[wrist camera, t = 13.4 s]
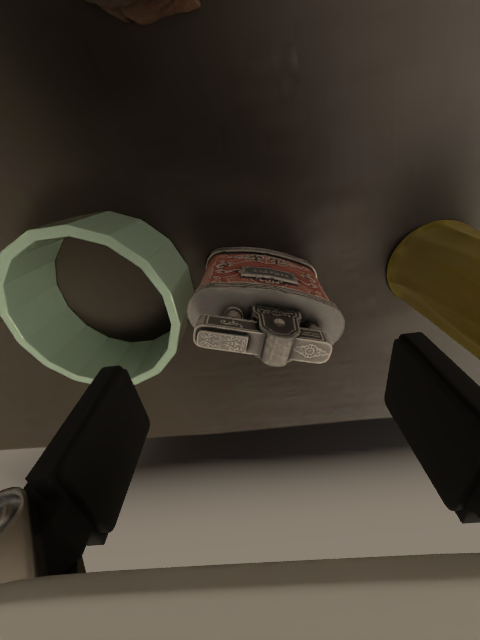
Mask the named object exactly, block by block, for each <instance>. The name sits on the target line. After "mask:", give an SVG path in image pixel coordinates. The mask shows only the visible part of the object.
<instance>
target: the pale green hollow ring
mask: <svg viewBox="0 0 480 640" xmlns="http://www.w3.org/2000/svg"><path fill="white" fill-rule="evenodd" d="M67 236H71V237H75V238H79V239H83V240H87V241H90V242H94V243H98V244H102V245H106V246H108V247H110V248H111V249H113V250H114V251H116V252H117V253H119V254H120V255H122V256H123V257H125V258H126V259H128V260H129V261H131V262H132V263H134V264H135V265H137V266H139V267H140V268H141V269H142V270H143V272H144V273H145V274H146V275H147V277H148V278H149V279H150V281H151V282H152V283H153V284H154V286H155V287H156V288H157V289H158V291H159V292H160V293H161V295H162V296H163V299H164V302H165V306H166V309H167V312H168V315H169V319H170V322H171V329H170V331H169V332H168V333H166V334H164V335H162V336H160V337H158V338H156V339H154V340H149V341H140V342H127V341H123V340H118V339H114V338H110V337H107V336H105V335H103V334H102V333H100V332H98V331H96V330H94V329H93V328H91V327H89V326H87V325H86V324H85V323H84V322H83V321H82V320H81V319H80V318H79V317H78V316H77V315H76V314H75V313H74V312H73V311H72V310H71V309H70V308H69V307H68V305H67V303H66V301H65V299H64V297H63V295H62V293H61V291H60V289H59V287H58V285H57V280H56V268H55V259H56V256H57V254H58V252H59V249H60V247H61V244H62V242H63V240H64V238H65V237H67ZM193 293H194V289H193V285H192V280H191V276H190V272H189V268H188V265H187V264H186V262H185V261H184V260H183V258H182V257H181V255H180V254H179V252H178V251H177V250H176V248H175V247H174V245H173V244H172V242H171V241H170V240H169V239H168V238H167V237H165V236H164V235H162V234H161V233H160V232H158V231H157V230H155V229H154V228H153V227H151V226H150V225H148V224H147V223H146V222H144V221H143V220H141V219H137V218H133V217H130V216H126V215H122V214H118V213H115V212H111V211H104V212H98V213H91V214H85V215H78V216H75V217H71V218H68V219H65V220H61V221H58V222H54V223H51V224H47V225H44V226H41V227H37V228H34V229H30V230H28V231H26V232H25V233H23V234H22V235H21V236H20V237H18V238H17V239H16V240H15V241H13V242H12V243H11V244H10V245H8V246H7V247H6V248H5V249H3V250H2V251H1V253H0V316H1V318H2V319H3V321H4V322H5V324H6V325H7V327H8V328H9V330H10V331H11V333H12V334H13V336H14V337H15V339H16V341H17V342H18V343H19V344H20V345H21V346H22V347H23V348H25V349H26V350H27V351H28V352H29V353H30V354H32V355H33V356H34V357H35V358H36V359H37V360H39V361H40V362H41V363H42V364H43V365H45V366H46V367H48V368H50V369H52V370H54V371H56V372H59V373H61V374H63V375H65V376H67V377H69V378H71V379H73V380H76V381H79V382H84V383H89V384H91V382H92V381H93V380H94V378H95V377H96V375H97V374H98V372H99V371H100V370H101V368H103V367H108V366H117V365H119V366H121V367H122V368H123V369H126V370H127V371H128V373H129V375H130V378H131V380H132V382H133V384H134V385H135V384H138V383H140V382H142V381H144V380H146V379H148V378H151V377H153V376H155V375H157V374H159V373H160V372H161V371H162V370H163V369H164V367H165V366H166V365H167V364H168V362H169V361H170V360H171V358H172V357H173V356H174V355H175V353H176V351H177V349H178V346H179V344H180V341H181V339H182V336H183V334H184V331H185V328H186V326H187V323H188V321H189V319H188V315H187V307H188V303H189V300H190V298H191V296H192V294H193Z"/></svg>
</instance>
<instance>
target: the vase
mask: <svg viewBox="0 0 480 640" xmlns="http://www.w3.org/2000/svg"><path fill="white" fill-rule="evenodd" d="M387 281H388V285H389V287H390V289H391V291H392V292H393V293H394V295H395V296H397V297H398V298H400V299H402V300H404V301H405V302H406V303H408V304H409V305H410V306H411V307H413V308H414V309H415V310H417V311H418V312H419V313H421V314H422V315H423V316H425V317H426V318H427V319H429V320H430V321H431V322H433V323H434V324H435V325H436V326H438V327H439V328H440V329H441V330H442V331H444V332H445V333H446V334H447V335H449V336H450V337H451V338H453V339H454V340H455V341H456V342H458V343H459V344H460V345H461V346H463V347H464V348H465V349H467V350H468V351H469V352H471V353H472V354H473V355H474V356H476V357H477V358H478V359H479V360H480V231H479V230H475V229H473V228H472V227H470V226H469V225H467V224H465V223H463V222H459V221H455V220H438V221H434V222H431V223H428V224H426V225H423V226H421V227H419V228H418V229H416V230H414V231H413V232H411V233H410V234H409V235H407V236H406V237H405V238H404V239H403V240H402V241H401V242H400V243H399V245H398V246H397V247H396V249H395V250H394V252H393V254H392V256H391V258H390V260H389V263H388V267H387Z"/></svg>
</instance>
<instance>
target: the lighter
mask: <svg viewBox="0 0 480 640" xmlns="http://www.w3.org/2000/svg"><path fill="white" fill-rule="evenodd" d="M187 315H188V319H189V321H190V323H191V325H192V326H193V327H194V328H195V330H194V335H193V339H194V343H195V344H196V345H197V346H199V347H203V348H209V349H216V350H224V351H231V352H238V353H245V354H253V355H255V356H256V357H257V358H259V359H260V360H261V361H262V362H263V363H264V364H266V365H269V366H275V367H282V366H285V365H286V364H287V363H288V362H291V361H292V360H296V361H303V362H310V363H324V362H326V361H327V360H328V359H329V357H330V355H331V353H332V345H333V344H334V343H335V342H337V341H338V340H339V338H340V337H341V335H342V333H343V331H344V326H345V322H344V317H343V315H342V313H341V312H340V310H339V309H338V307H337V306H336V304H334V303H333V302H331V301H329V299H328V297H327V295H326V294H325V292H324V290H323V289H322V287H321V285H320V284H319V282H318V280H317V275H316V271H315V270H314V268H313V267H312V265H311V263H309V262H307V261H306V260H303V259H300V258H297V257H295V256H292V255H289V254H286V253H282V252H277V251H273V250H269V249H263V248H251V247H224V248H218V249H216V250H214V251H213V252H212V253H211V254H210V256H209V258H208V260H207V263H206V271H205V274H204V276H203V278H202V281H201V283H200V285H199V287H198V288H197V289H196V290H195V291H194V293H193V294H192V296H191V298H190V300H189V303H188V307H187Z"/></svg>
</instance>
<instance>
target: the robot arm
mask: <svg viewBox="0 0 480 640" xmlns="http://www.w3.org/2000/svg"><path fill="white" fill-rule="evenodd" d="M385 404H386V406H387V408H388V410H389V412H390V413H391V415H392V417H393V418H394V420H395V422H396V423H397V425H398V427H399V428H400V430H401V432H402V433H403V435H404V437H405V438H406V440H407V442H408V443H409V445H410V447H411V449H412V450H413V452H414V454H415V455H416V457H417V459H418V460H419V462H420V463H421V465H422V467H423V469H424V470H425V472H426V474H427V475H428V477H429V479H430V480H431V482H432V484H433V485H434V487H435V489H436V490H437V492H438V494H439V496H440V497H441V499H442V501H443V502H444V504H445V505H446V507H447V508H448V509H449V510H451V511H455V513H456V514H457V516H458V517H459V519H460V521H461V522H462V523H477V522H480V386H479V385H477V384H476V383H475V382H474V381H473V380H472V379H471V378H470V377H469V376H468V375H467V374H466V373H465V372H464V371H462V370H461V369H460V368H459V367H458V366H457V365H456V364H455V363H454V362H453V361H452V360H451V359H450V358H449V357H448V356H446V355H445V354H444V353H443V352H442V351H441V350H440V349H439V348H438V347H437V346H436V345H435V344H434V343H433V342H431V341H430V340H429V339H428V338H427V337H426V336H425V335H424V334H423V333H421V332H416V333H407V334H401V335H400V336H399V339H395V341H394V344H393V349H392V355H391V361H390V367H389V373H388V379H387V385H386V391H385ZM149 426H150V422H149V418H148V416H147V413H146V411H145V409H144V407H143V404H142V402H141V400H140V398H139V395H138V393H137V391H136V389H135V386H134V384H133V382H132V380H131V378H130V375H129V373H128V371H127V370H126V369H123V368H122V367H121V366H119V365H117V366H108V367H103V368H101V370H100V371H99V372H98V374H97V375H96V377H95V378H94V380H93V381H92V382H91V384H90V385H89V387H88V388H87V390H86V391H85V393H84V394H83V396H82V397H81V398H80V400H79V401H78V403H77V404H76V406H75V407H74V409H73V410H72V412H71V413H70V414H69V416H68V417H67V419H66V420H65V422H64V423H63V425H62V426H61V428H60V429H59V430H58V432H57V433H56V435H55V436H54V438H53V439H52V441H51V442H50V444H49V445H48V446H47V448H46V450H45V451H44V452H43V454H42V455H41V457H40V458H39V460H38V461H37V462H36V464H35V465H34V467H33V468H32V470H31V471H30V473H29V474H28V476H27V477H26V478H25V479H26V480H27V482H28V483H27V484H26V486H25V487H24V489H22V488H20V487H11V488H7V489H4V490H1V491H0V640H480V553H459V554H429V555H408V556H387V557H365V558H344V559H323V560H303V561H283V562H264V563H246V564H226V565H207V566H191V567H190V566H189V567H172V568H155V569H137V570H119V571H105V572H104V571H103V572H90V573H86V571H85V566H84V562H83V558H82V554H83V552H84V550H85V547H86V545H87V546H91V545H104V544H105V541H106V538H107V535H108V533H109V532H111V531H112V530H113V529H114V527H115V525H116V522H117V519H118V516H119V513H120V510H121V508H122V505H123V502H124V499H125V496H126V493H127V490H128V487H129V485H130V482H131V479H132V476H133V473H134V470H135V467H136V465H137V462H138V459H139V456H140V453H141V450H142V448H143V445H144V442H145V439H146V436H147V433H148V431H149Z"/></svg>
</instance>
